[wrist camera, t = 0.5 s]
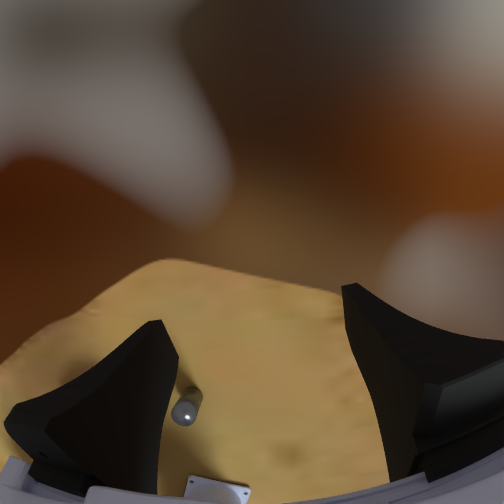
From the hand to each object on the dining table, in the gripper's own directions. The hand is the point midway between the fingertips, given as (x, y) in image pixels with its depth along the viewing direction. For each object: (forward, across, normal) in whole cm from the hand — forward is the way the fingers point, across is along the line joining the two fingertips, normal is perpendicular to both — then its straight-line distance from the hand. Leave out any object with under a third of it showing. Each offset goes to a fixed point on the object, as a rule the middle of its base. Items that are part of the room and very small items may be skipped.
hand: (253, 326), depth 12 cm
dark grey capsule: (+14, +12, +19) cm, 26 cm away
